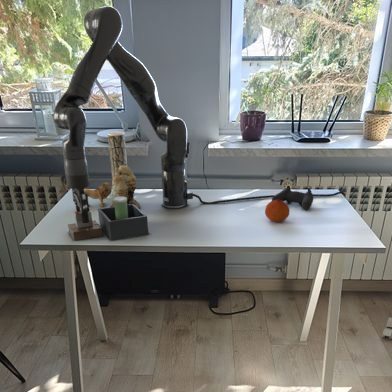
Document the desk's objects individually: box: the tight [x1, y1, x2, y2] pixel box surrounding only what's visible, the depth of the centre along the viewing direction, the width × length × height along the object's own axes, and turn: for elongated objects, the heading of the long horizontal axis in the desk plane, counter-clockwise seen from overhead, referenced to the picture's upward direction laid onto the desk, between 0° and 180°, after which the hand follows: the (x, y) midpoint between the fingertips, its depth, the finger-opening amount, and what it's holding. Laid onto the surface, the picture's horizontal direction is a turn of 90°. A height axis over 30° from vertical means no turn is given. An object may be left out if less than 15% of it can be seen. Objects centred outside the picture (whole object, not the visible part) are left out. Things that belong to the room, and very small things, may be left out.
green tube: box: [113, 197, 128, 220], centre depth 179 cm, size 5×5×11 cm
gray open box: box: [97, 204, 149, 241], centre depth 180 cm, size 14×16×7 cm
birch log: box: [107, 130, 128, 181], centre depth 213 cm, size 7×7×25 cm
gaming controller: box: [271, 184, 314, 211], centre depth 203 cm, size 17×6×10 cm
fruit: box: [264, 199, 290, 223], centre depth 187 cm, size 9×9×8 cm
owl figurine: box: [109, 165, 141, 209], centre depth 197 cm, size 18×12×17 cm, turn 176°
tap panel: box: [67, 219, 103, 241], centre depth 178 cm, size 10×10×3 cm
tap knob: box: [73, 209, 93, 228], centre depth 176 cm, size 6×2×5 cm, turn 114°
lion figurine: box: [84, 182, 113, 208], centre depth 204 cm, size 15×5×9 cm, turn 95°
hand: (83, 219), depth 176 cm, fingers open, 8 cm apart
